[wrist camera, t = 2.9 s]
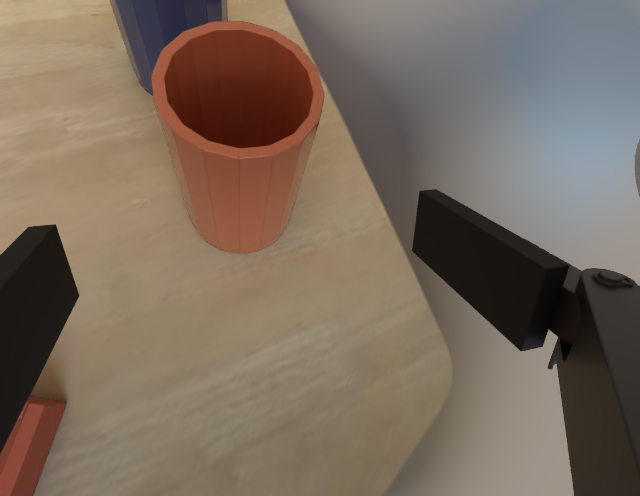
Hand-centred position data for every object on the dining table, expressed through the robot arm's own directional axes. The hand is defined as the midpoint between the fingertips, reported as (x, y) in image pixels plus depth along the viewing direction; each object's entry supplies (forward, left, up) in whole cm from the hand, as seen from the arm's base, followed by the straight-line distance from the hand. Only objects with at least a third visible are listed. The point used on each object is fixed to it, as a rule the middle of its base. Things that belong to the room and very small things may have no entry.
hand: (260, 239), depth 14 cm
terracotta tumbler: (+2, -6, -12) cm, 13 cm away
